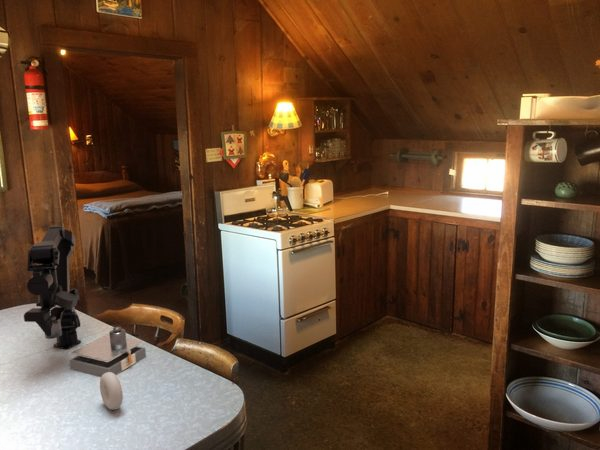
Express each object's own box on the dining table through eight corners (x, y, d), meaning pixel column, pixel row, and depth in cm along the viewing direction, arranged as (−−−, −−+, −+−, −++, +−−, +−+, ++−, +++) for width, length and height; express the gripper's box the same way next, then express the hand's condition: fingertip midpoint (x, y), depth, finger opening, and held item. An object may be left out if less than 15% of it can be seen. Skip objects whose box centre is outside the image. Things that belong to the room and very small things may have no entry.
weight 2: (107, 347, 164) (105, 329, 163) (119, 342, 168) (117, 324, 167) (118, 350, 161) (116, 331, 160) (130, 345, 166) (128, 326, 164)
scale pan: (72, 363, 162) (71, 352, 161) (108, 344, 176) (107, 334, 175) (113, 373, 155) (112, 361, 154) (147, 353, 169) (146, 341, 168)
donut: (126, 412, 137) (123, 377, 135) (113, 418, 135) (110, 382, 133) (112, 398, 144) (108, 365, 142) (99, 402, 142) (95, 369, 140)
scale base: (70, 369, 162) (69, 359, 162) (108, 348, 176) (107, 339, 176) (110, 378, 155) (109, 368, 155) (146, 356, 170) (146, 347, 169)
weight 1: (41, 337, 162) (39, 318, 161) (54, 331, 166) (52, 313, 165) (52, 339, 160) (50, 320, 159) (65, 333, 164) (63, 315, 163)
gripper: (56, 295, 150) (62, 345, 153) (87, 275, 168) (92, 321, 172) (19, 294, 151) (26, 345, 154) (54, 275, 169) (59, 321, 172)
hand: (53, 332), depth 163 cm, fingers closed on weight 1, 5 cm apart
